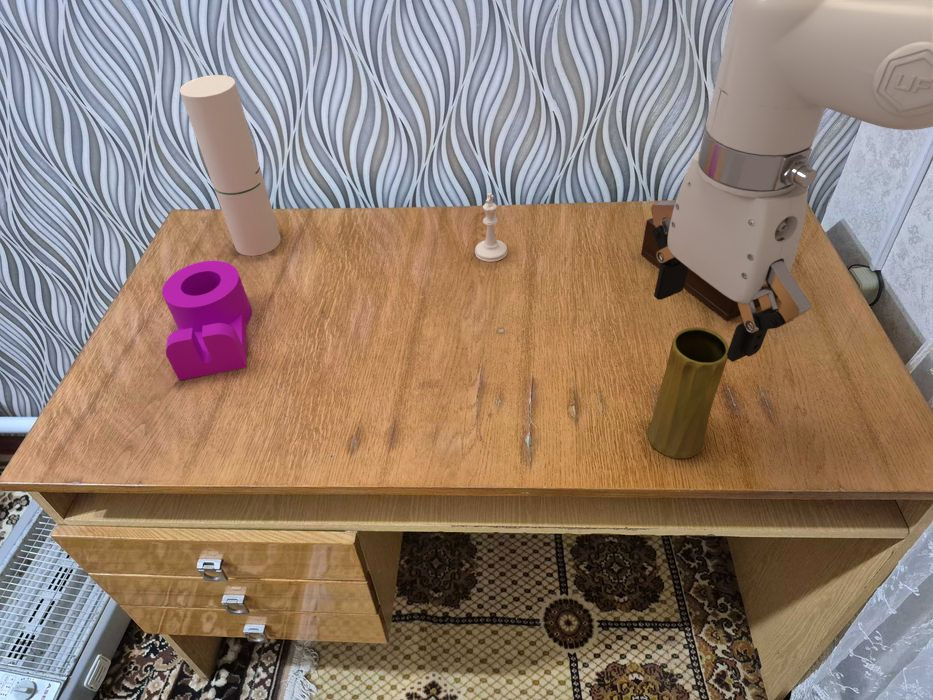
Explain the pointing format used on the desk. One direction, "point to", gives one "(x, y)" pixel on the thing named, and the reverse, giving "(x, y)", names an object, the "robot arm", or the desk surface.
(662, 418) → the vase
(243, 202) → the cylindrical container
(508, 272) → the desk surface
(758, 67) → the robot arm
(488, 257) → the chess piece
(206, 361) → the magenta bearing bracket
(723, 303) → the brown compartment box
